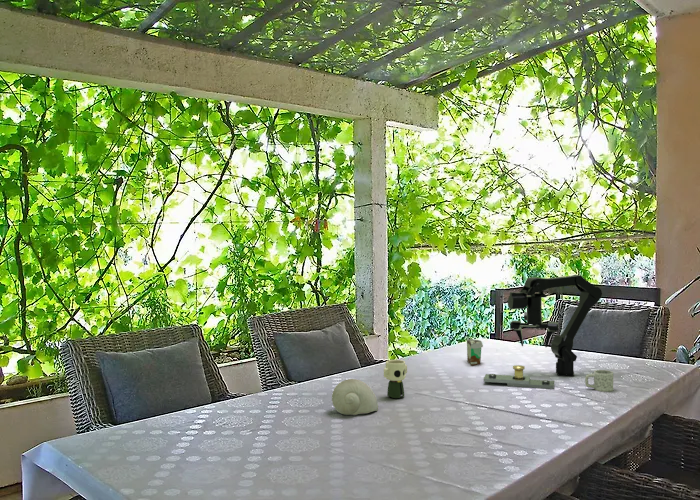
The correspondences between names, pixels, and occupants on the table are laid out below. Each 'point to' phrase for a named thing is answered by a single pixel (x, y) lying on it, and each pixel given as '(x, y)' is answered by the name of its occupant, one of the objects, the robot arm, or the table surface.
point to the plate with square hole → (519, 381)
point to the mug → (601, 380)
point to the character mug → (395, 377)
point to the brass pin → (519, 372)
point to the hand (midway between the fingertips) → (534, 346)
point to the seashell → (354, 398)
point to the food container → (474, 352)
